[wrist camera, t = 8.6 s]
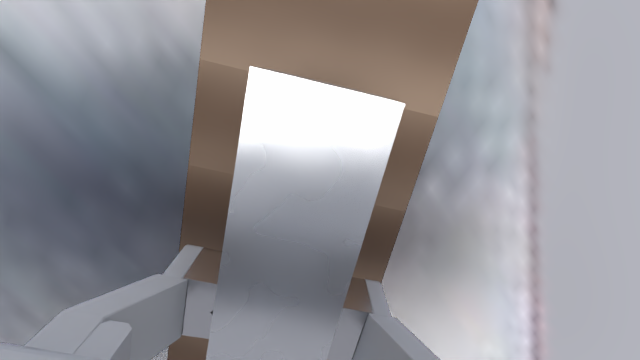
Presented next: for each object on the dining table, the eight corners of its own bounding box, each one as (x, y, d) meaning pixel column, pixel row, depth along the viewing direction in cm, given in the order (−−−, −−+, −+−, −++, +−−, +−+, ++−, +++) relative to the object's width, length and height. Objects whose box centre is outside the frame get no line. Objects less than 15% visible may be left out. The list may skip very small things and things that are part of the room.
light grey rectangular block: (299, 316, 17) (285, 492, 10) (243, 305, 17) (187, 478, 9) (358, 88, 13) (405, 103, 6) (287, 71, 13) (250, 66, 6)
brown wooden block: (329, 376, 20) (331, 426, 17) (185, 352, 19) (162, 400, 16) (452, -9, 13) (489, -33, 10) (240, -68, 13) (217, -110, 10)
